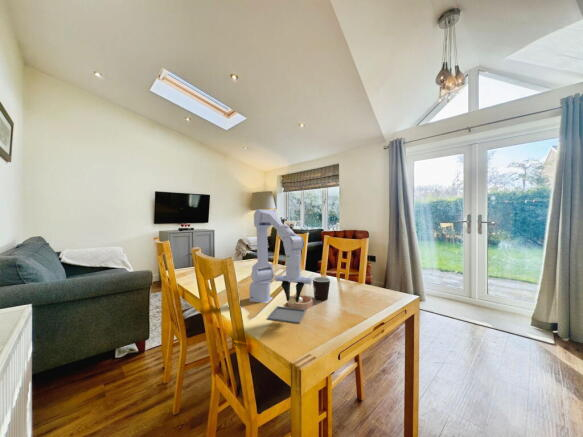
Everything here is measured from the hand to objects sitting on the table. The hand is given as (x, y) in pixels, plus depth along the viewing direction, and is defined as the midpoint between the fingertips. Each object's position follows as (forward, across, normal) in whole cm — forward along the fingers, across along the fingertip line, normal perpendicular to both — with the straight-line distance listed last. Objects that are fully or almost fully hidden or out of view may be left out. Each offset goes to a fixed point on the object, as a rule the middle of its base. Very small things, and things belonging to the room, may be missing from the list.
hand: (292, 300), depth 92 cm
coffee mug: (+8, +8, +27) cm, 30 cm away
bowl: (+8, 0, +15) cm, 17 cm away
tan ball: (+1, 0, 0) cm, 1 cm away
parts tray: (+8, -3, +3) cm, 9 cm away
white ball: (+7, -1, +16) cm, 18 cm away
